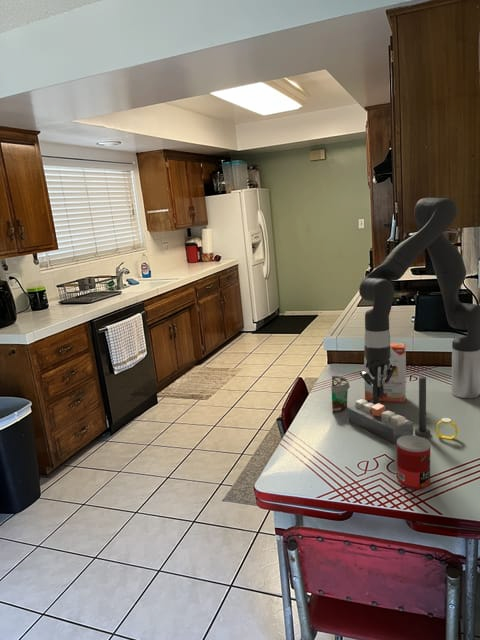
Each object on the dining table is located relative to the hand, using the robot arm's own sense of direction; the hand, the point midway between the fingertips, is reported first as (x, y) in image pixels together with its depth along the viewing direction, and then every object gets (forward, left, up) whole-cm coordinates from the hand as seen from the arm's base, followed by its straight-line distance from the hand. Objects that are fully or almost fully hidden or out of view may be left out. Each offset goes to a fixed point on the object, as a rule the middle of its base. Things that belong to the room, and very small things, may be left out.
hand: (378, 396), depth 149 cm
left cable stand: (-8, -10, -11) cm, 17 cm away
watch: (-12, +16, -11) cm, 23 cm away
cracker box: (-19, -17, -11) cm, 28 cm away
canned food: (+14, +27, -11) cm, 32 cm away
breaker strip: (0, 0, -11) cm, 11 cm away
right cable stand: (-8, +10, -11) cm, 17 cm away
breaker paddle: (0, 0, -6) cm, 6 cm away
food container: (-2, -21, -11) cm, 24 cm away
